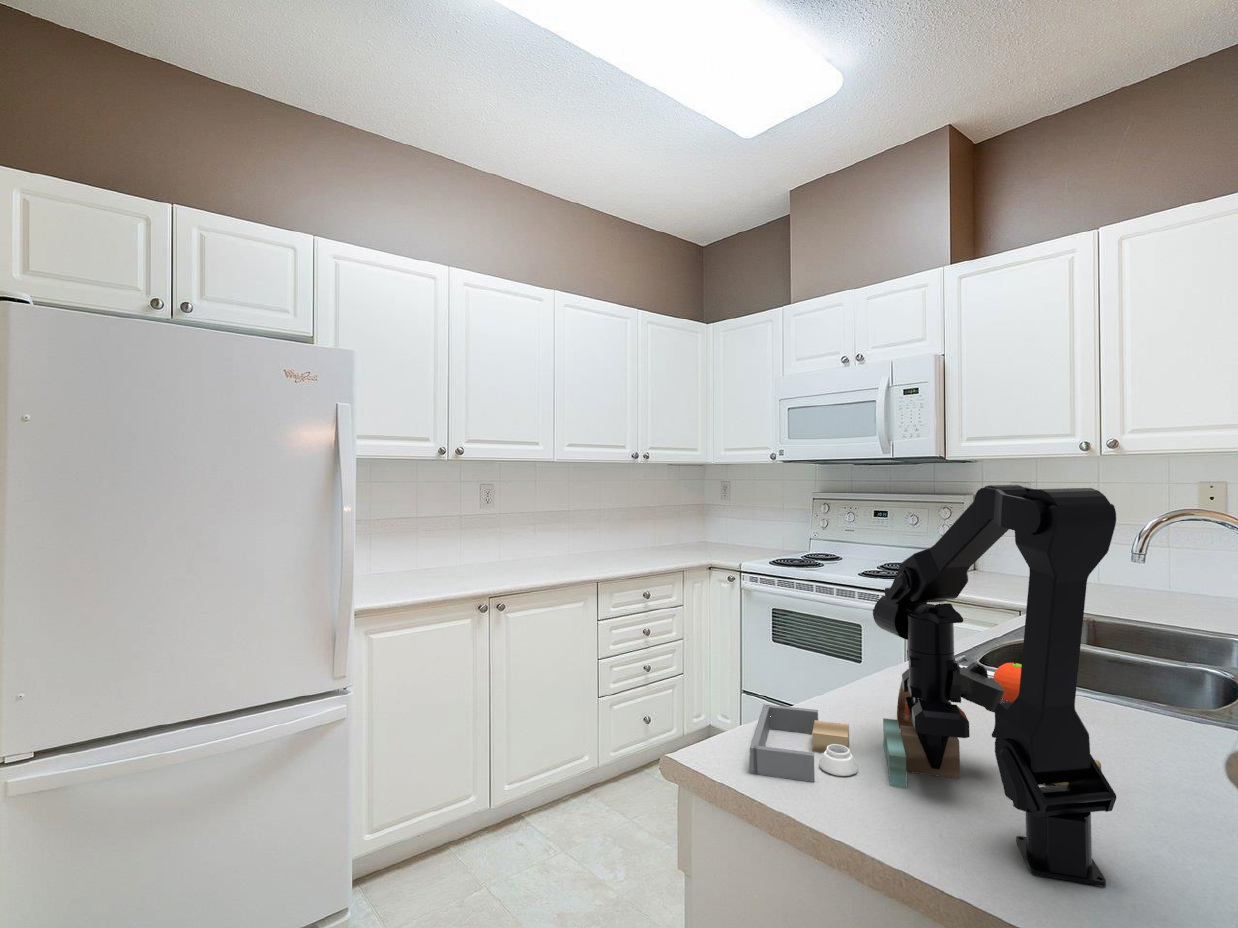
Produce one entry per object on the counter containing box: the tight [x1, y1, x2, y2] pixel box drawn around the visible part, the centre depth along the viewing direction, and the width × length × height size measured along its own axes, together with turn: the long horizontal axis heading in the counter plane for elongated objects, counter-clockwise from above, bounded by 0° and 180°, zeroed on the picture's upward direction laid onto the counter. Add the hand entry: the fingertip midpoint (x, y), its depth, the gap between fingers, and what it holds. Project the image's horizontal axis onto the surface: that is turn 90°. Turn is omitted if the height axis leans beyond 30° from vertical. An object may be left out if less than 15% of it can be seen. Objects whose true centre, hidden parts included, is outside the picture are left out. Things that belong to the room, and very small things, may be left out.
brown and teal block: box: [882, 717, 961, 789], centre depth 88 cm, size 13×9×5 cm
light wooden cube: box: [811, 720, 850, 754], centre depth 96 cm, size 5×5×3 cm
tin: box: [896, 681, 914, 728], centre depth 104 cm, size 15×3×8 cm, turn 145°
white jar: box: [819, 744, 859, 777], centre depth 89 cm, size 5×3×5 cm
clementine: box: [992, 662, 1022, 702], centre depth 111 cm, size 8×7×7 cm
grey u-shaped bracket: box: [749, 704, 819, 783], centre depth 94 cm, size 17×8×4 cm, turn 161°
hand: (933, 761), depth 88 cm, fingers closed on brown and teal block, 3 cm apart
